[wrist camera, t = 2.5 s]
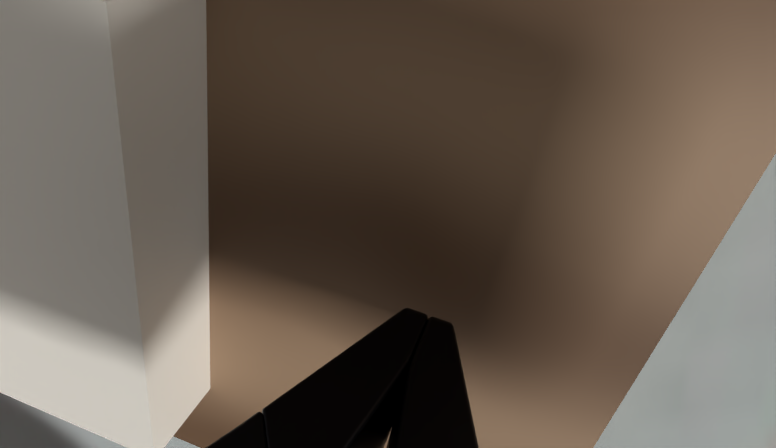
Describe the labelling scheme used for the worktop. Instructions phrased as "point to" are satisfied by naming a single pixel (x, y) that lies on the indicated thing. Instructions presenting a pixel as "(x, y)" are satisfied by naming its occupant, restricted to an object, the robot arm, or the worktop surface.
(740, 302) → the worktop surface
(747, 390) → the worktop surface
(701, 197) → the wooden block
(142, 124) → the white slab
